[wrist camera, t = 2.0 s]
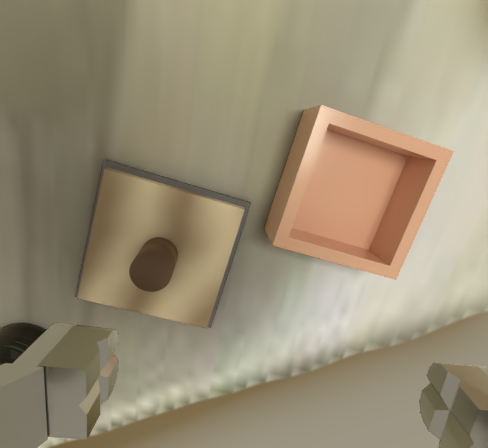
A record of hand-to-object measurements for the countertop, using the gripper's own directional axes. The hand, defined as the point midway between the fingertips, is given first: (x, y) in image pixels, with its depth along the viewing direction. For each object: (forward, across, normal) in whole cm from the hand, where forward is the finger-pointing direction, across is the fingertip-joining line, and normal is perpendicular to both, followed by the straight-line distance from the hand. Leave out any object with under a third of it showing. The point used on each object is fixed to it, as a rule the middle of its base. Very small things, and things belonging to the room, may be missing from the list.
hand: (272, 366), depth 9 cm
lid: (+21, +8, +6) cm, 23 cm away
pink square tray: (+23, -8, -2) cm, 24 cm away
